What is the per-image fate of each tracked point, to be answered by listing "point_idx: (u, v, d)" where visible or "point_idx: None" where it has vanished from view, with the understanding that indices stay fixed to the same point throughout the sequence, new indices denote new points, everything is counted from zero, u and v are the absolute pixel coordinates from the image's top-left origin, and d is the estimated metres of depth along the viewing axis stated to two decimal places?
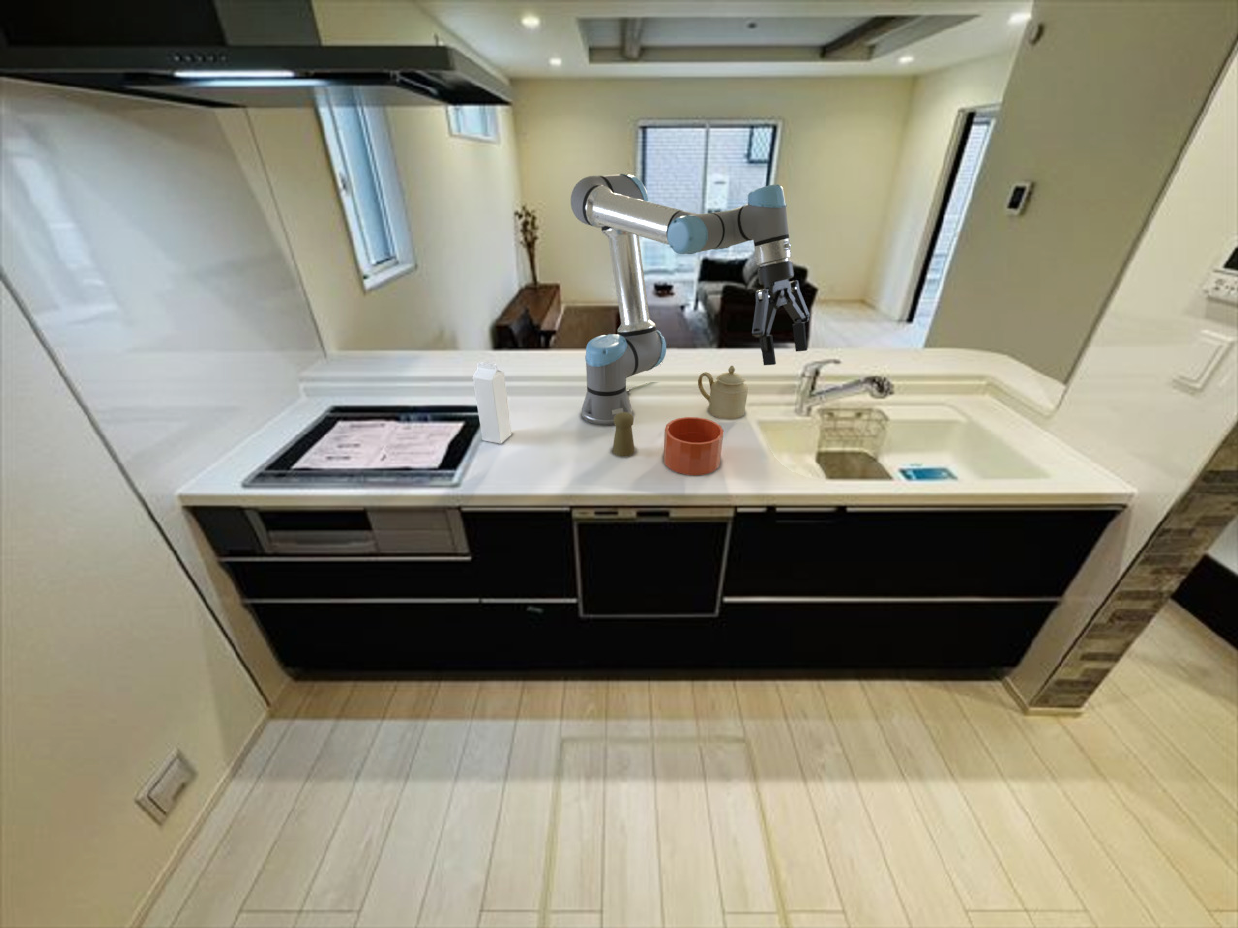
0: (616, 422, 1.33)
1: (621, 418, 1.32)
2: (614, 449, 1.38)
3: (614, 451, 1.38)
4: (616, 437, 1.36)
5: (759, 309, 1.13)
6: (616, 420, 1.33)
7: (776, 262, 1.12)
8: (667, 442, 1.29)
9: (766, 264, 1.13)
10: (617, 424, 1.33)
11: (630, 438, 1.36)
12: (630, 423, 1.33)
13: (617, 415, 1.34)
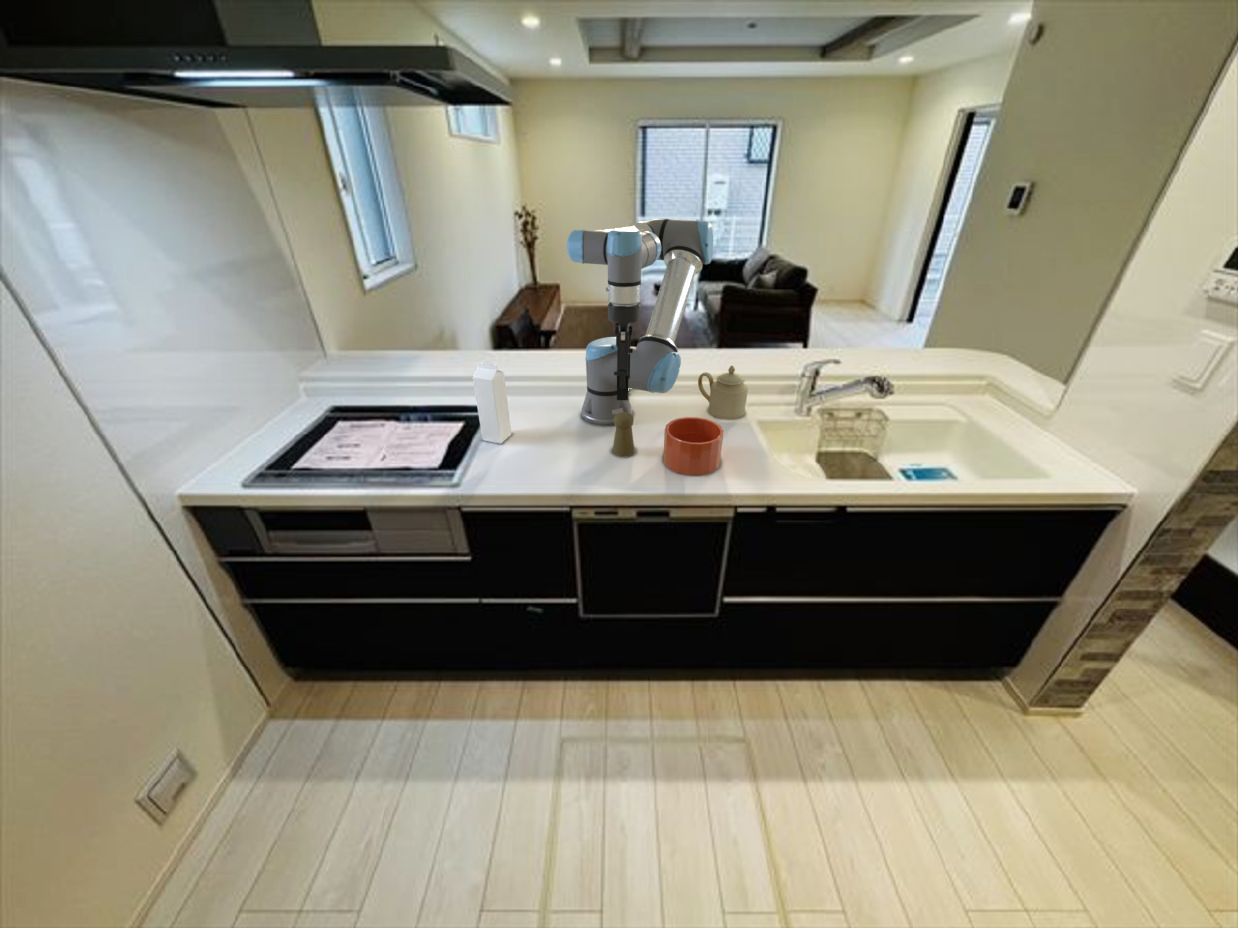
0: (616, 422, 1.33)
1: (621, 418, 1.32)
2: (614, 449, 1.38)
3: (614, 451, 1.38)
4: (616, 437, 1.36)
5: None
6: (616, 420, 1.33)
7: None
8: (667, 442, 1.29)
9: None
10: (617, 424, 1.33)
11: (630, 438, 1.36)
12: (630, 423, 1.33)
13: (617, 415, 1.34)
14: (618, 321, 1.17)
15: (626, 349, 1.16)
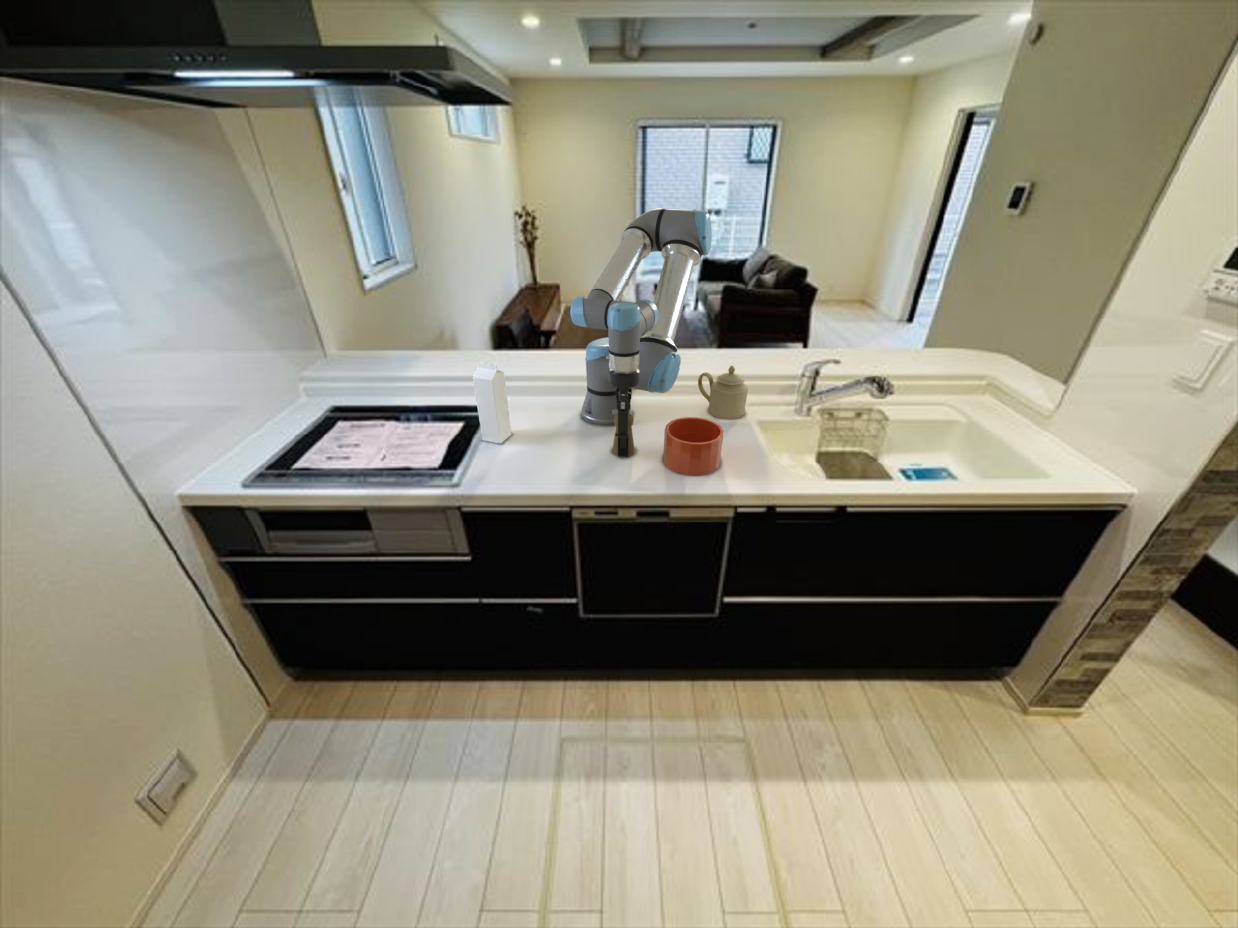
0: (616, 422, 1.33)
1: None
2: (614, 449, 1.38)
3: (614, 451, 1.38)
4: (616, 437, 1.36)
5: None
6: (616, 420, 1.33)
7: None
8: (667, 442, 1.29)
9: None
10: (617, 424, 1.33)
11: (630, 438, 1.36)
12: (630, 423, 1.33)
13: (617, 415, 1.34)
14: (618, 386, 1.26)
15: (626, 416, 1.27)
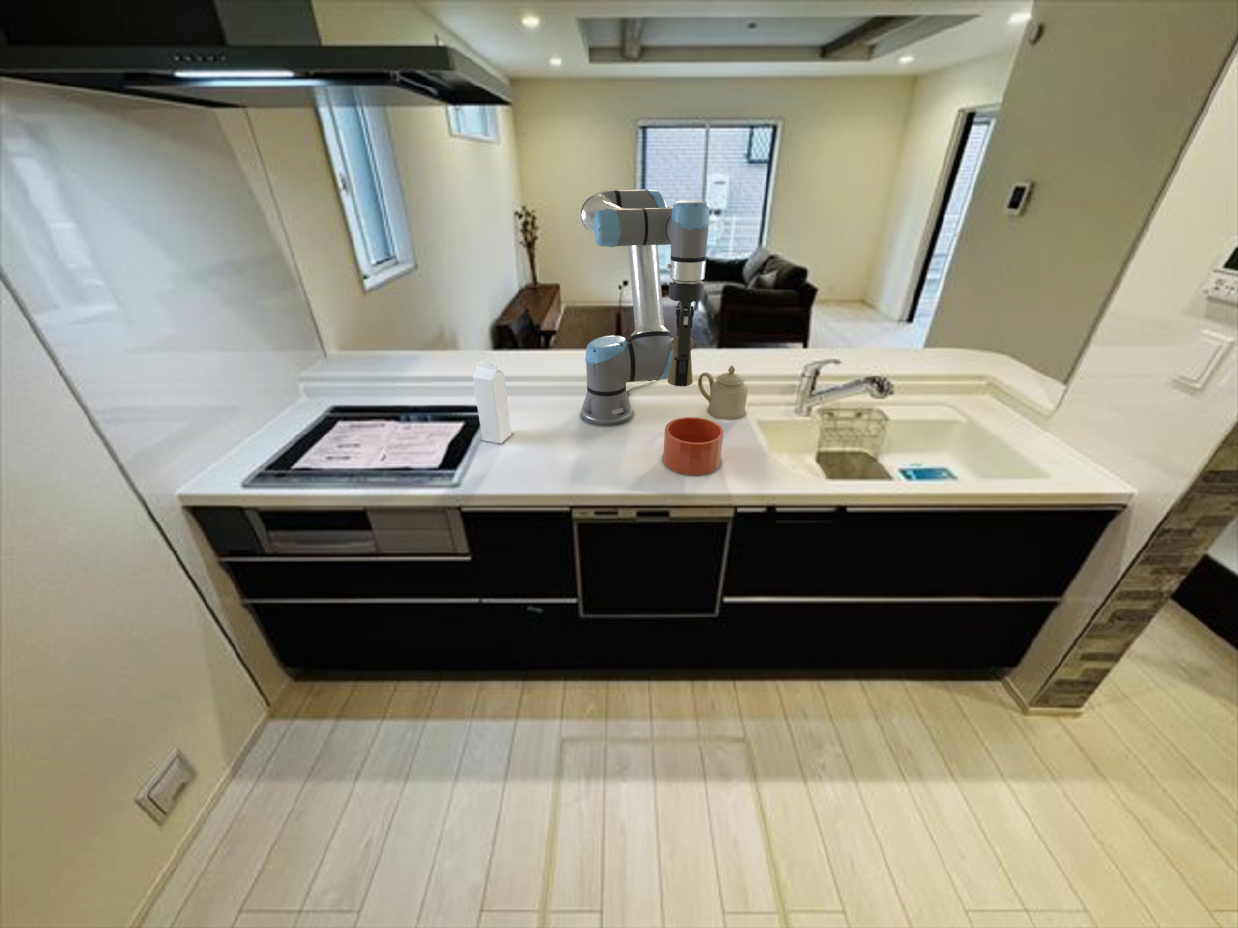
0: (674, 345, 1.18)
1: None
2: (670, 378, 1.23)
3: (670, 380, 1.23)
4: (673, 364, 1.21)
5: None
6: (674, 343, 1.18)
7: None
8: (667, 442, 1.29)
9: None
10: (675, 347, 1.18)
11: (689, 365, 1.21)
12: (690, 346, 1.18)
13: (675, 337, 1.19)
14: (681, 300, 1.11)
15: (688, 334, 1.12)
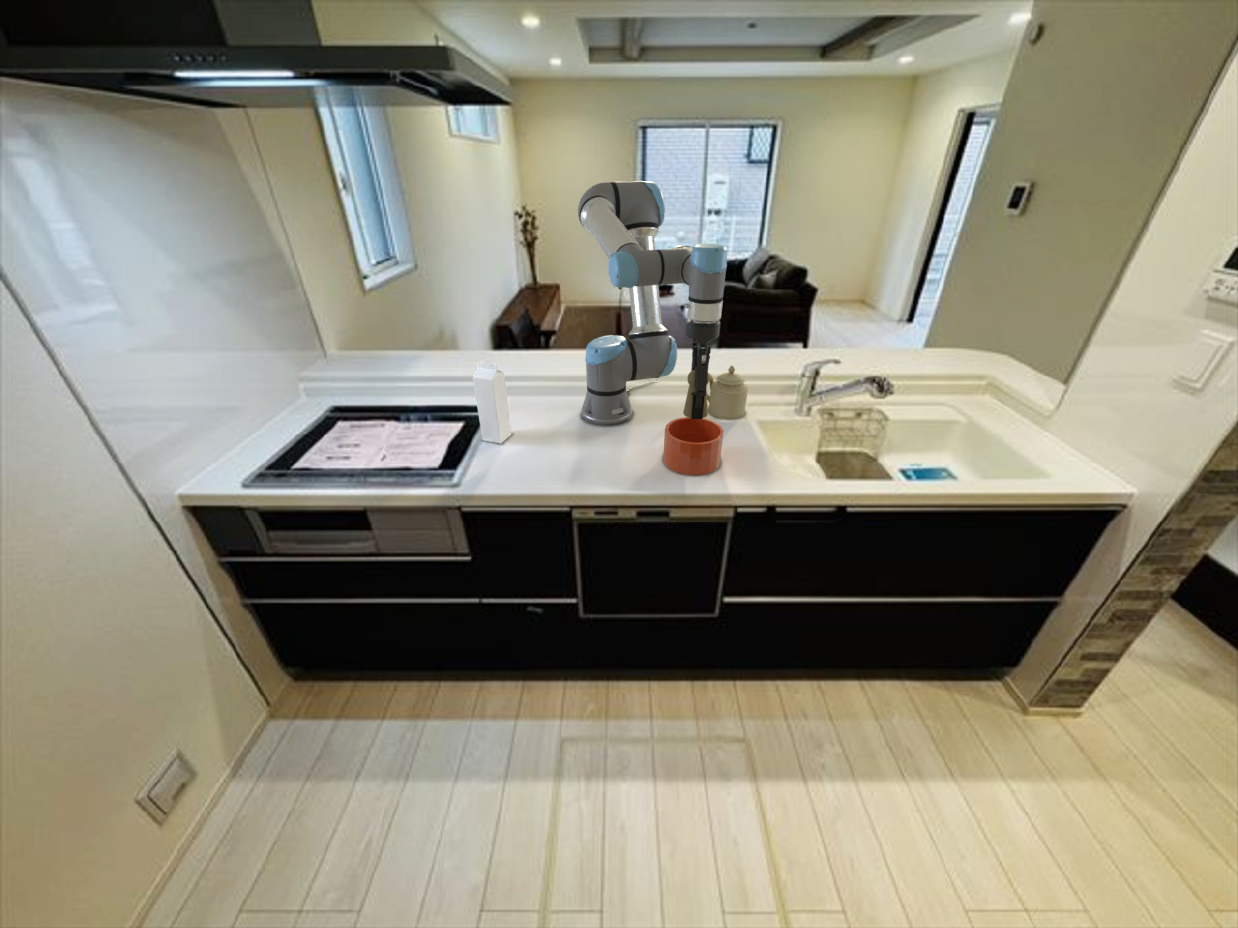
0: (691, 380, 1.22)
1: None
2: (686, 411, 1.26)
3: (686, 413, 1.26)
4: (689, 397, 1.24)
5: None
6: (691, 378, 1.22)
7: None
8: (667, 442, 1.29)
9: None
10: (692, 382, 1.22)
11: (705, 398, 1.24)
12: None
13: (692, 372, 1.22)
14: (698, 338, 1.15)
15: (706, 372, 1.16)
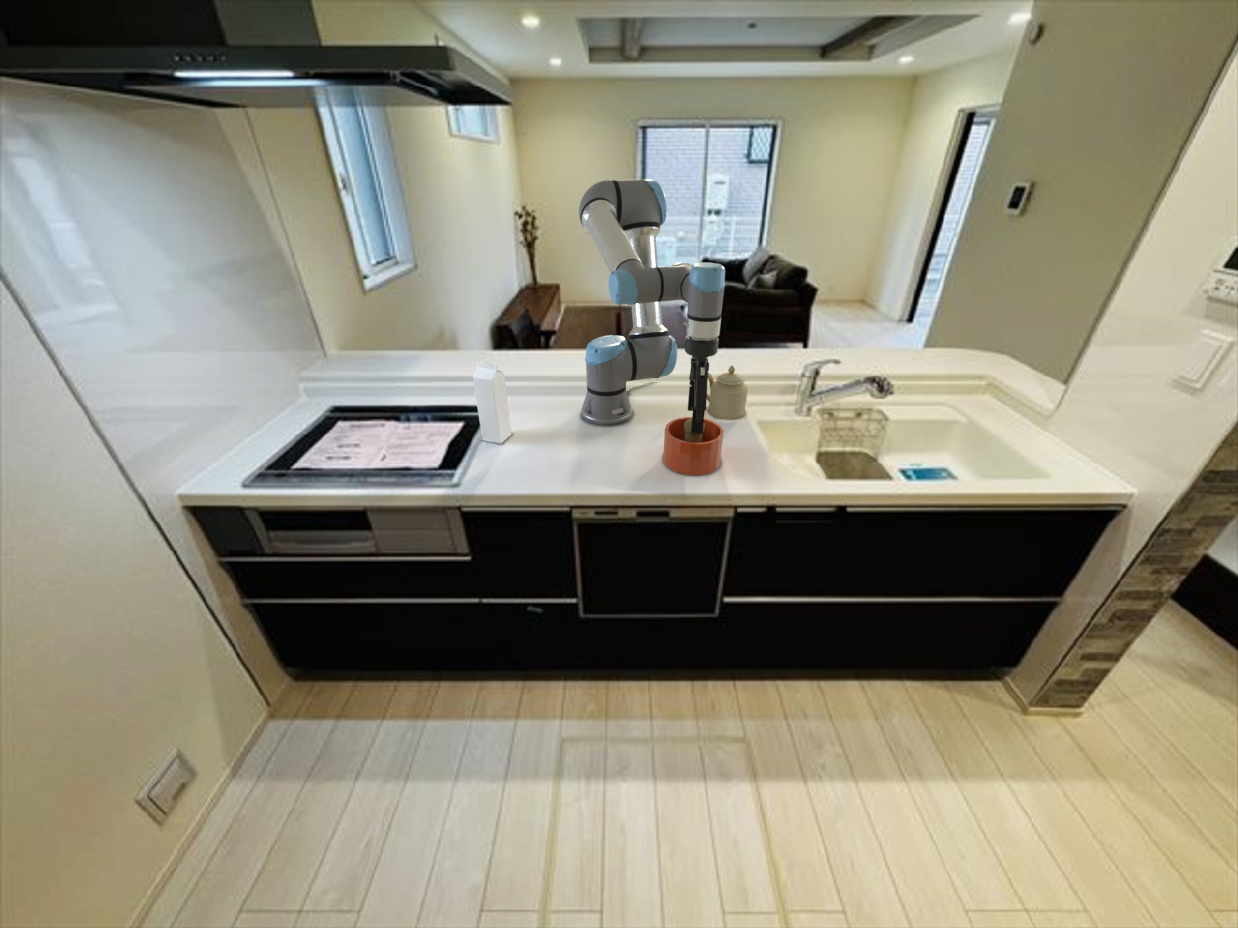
0: (687, 428, 1.28)
1: None
2: None
3: None
4: None
5: None
6: (687, 426, 1.28)
7: None
8: (667, 442, 1.29)
9: None
10: (689, 430, 1.28)
11: None
12: None
13: (688, 421, 1.29)
14: (697, 355, 1.17)
15: (705, 384, 1.16)
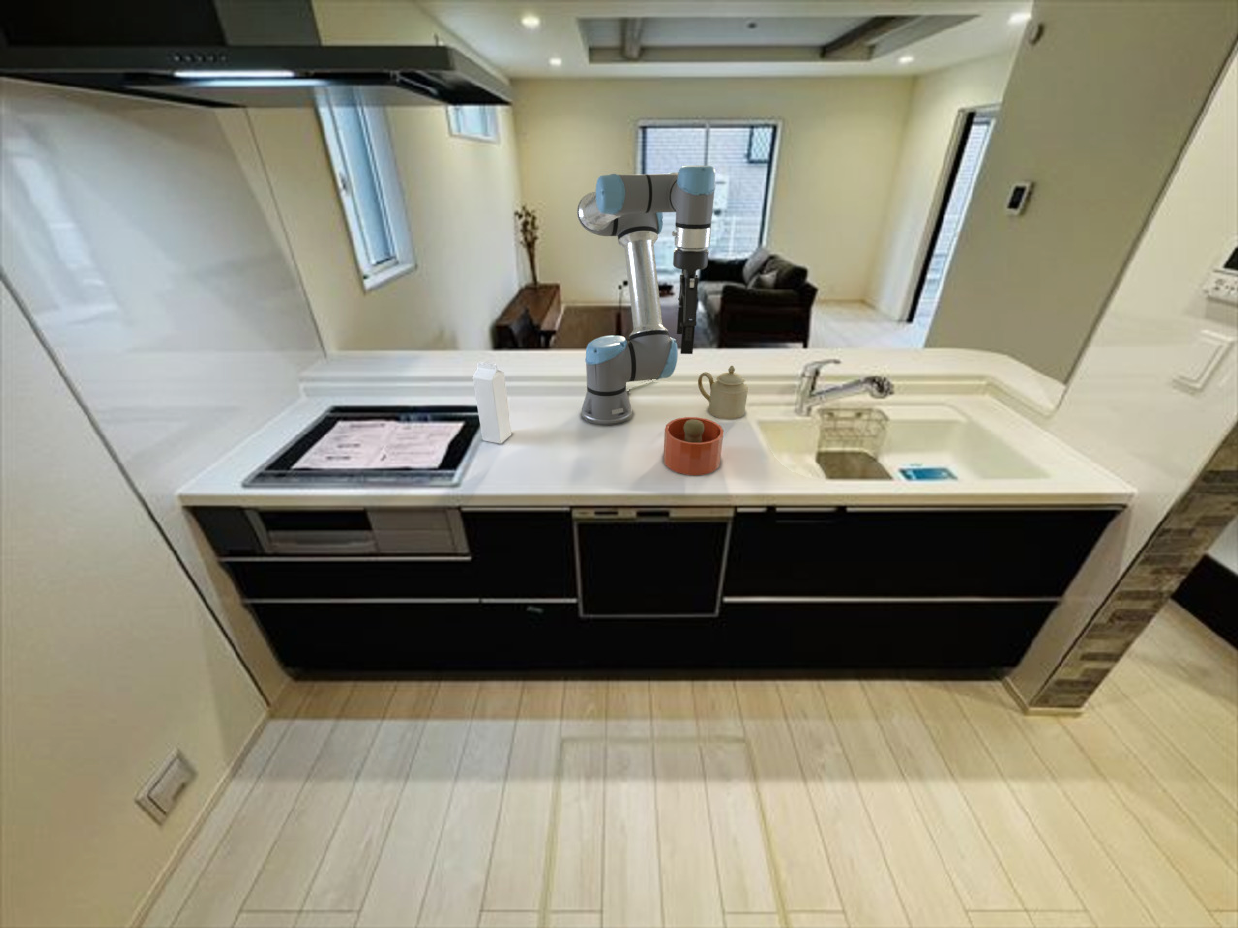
0: (687, 430, 1.28)
1: (693, 425, 1.28)
2: None
3: None
4: None
5: None
6: (687, 428, 1.28)
7: None
8: (667, 442, 1.29)
9: None
10: (688, 432, 1.28)
11: None
12: (702, 431, 1.28)
13: (688, 423, 1.29)
14: (686, 267, 1.10)
15: (695, 297, 1.10)
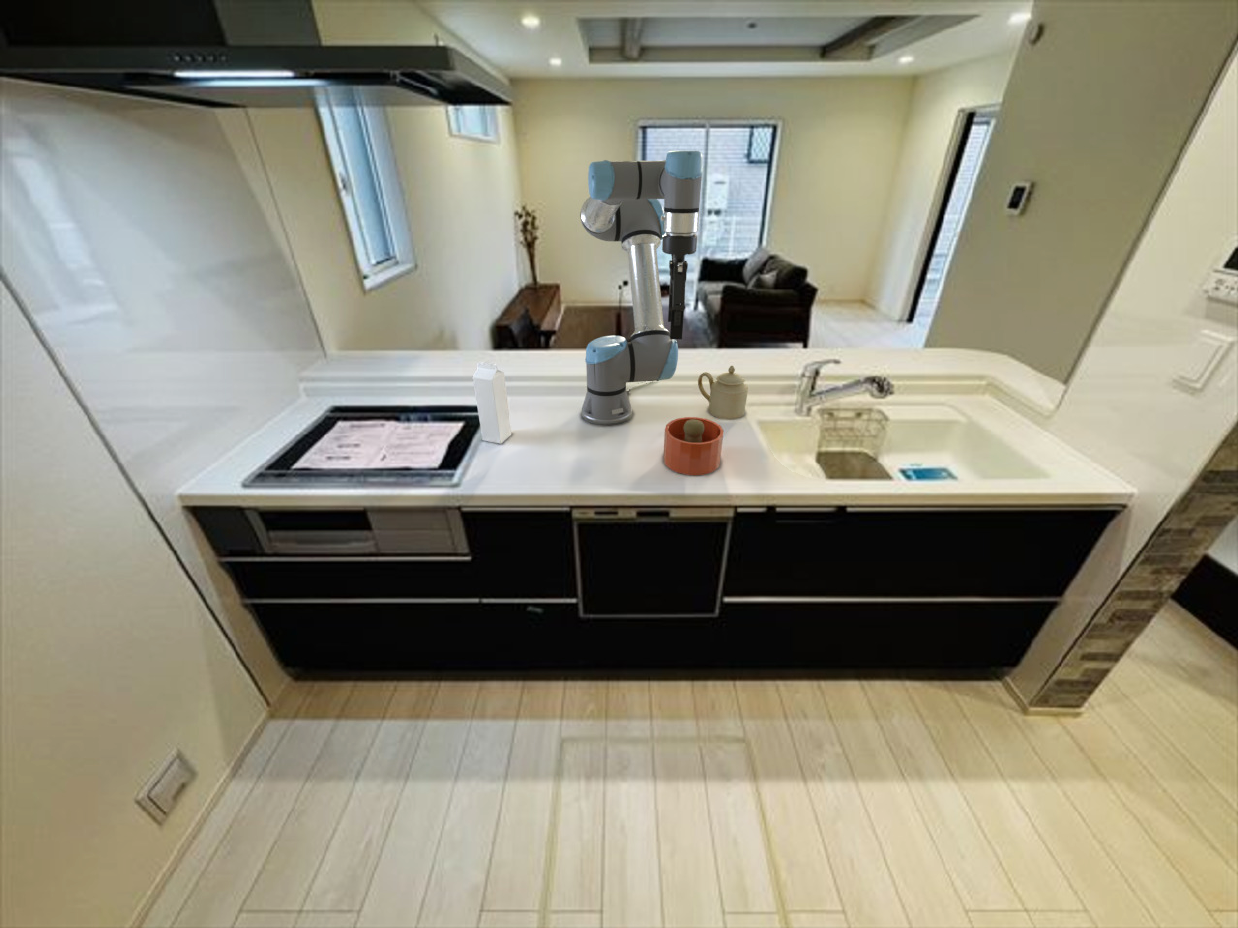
0: (687, 430, 1.28)
1: (693, 425, 1.28)
2: None
3: None
4: None
5: None
6: (687, 428, 1.28)
7: None
8: (667, 442, 1.29)
9: None
10: (688, 432, 1.28)
11: None
12: (702, 431, 1.28)
13: (688, 423, 1.29)
14: (674, 252, 1.11)
15: (683, 281, 1.10)
